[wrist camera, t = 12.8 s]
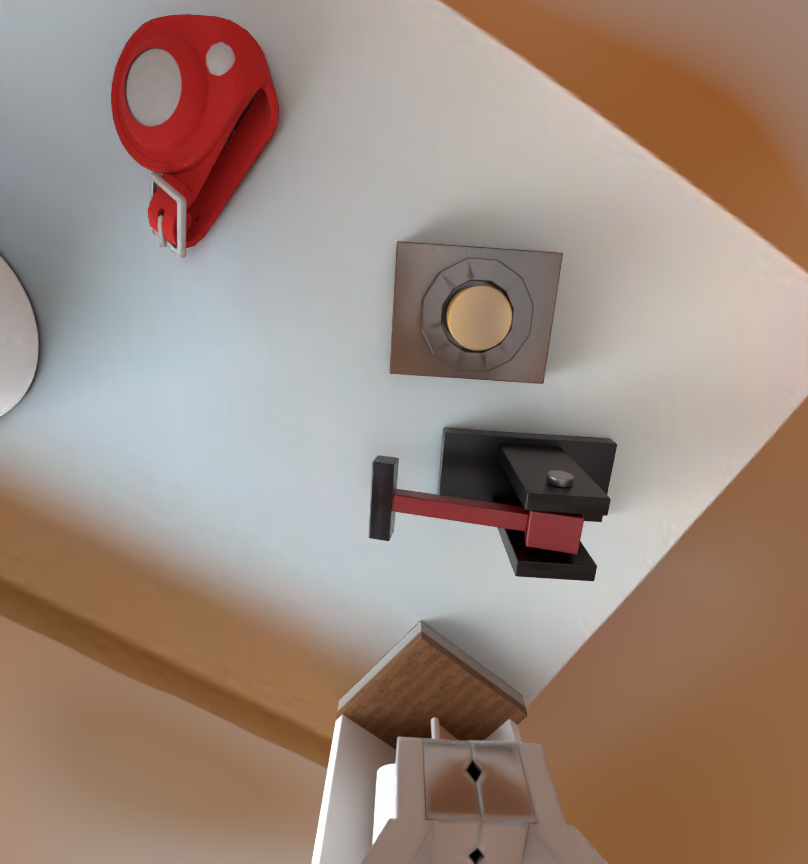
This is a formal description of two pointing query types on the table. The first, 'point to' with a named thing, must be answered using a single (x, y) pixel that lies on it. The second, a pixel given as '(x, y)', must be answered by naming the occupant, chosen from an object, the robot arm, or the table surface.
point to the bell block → (441, 280)
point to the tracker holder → (192, 117)
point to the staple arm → (466, 512)
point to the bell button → (479, 317)
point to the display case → (403, 733)
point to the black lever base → (531, 487)
